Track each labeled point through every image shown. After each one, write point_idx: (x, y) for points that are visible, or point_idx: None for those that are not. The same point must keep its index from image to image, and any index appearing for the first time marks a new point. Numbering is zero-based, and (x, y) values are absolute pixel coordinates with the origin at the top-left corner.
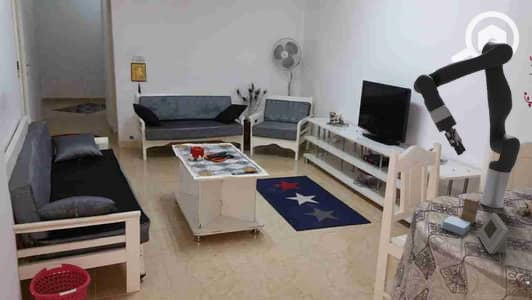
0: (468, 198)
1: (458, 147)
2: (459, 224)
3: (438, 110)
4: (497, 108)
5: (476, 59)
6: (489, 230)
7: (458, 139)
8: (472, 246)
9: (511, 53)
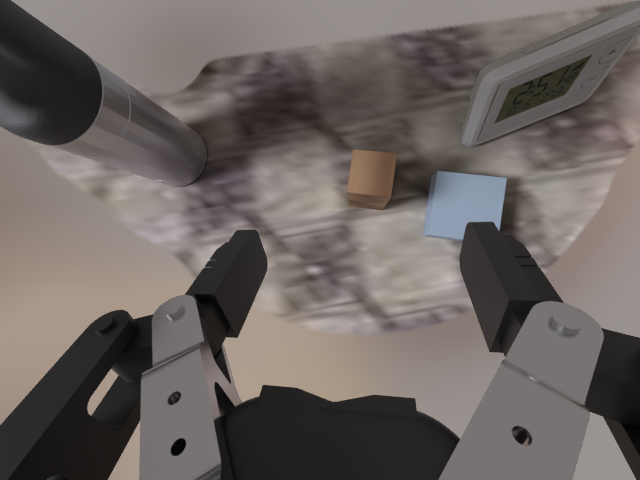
0: (380, 186)
1: (553, 290)
2: (484, 196)
3: None
4: None
5: None
6: (537, 95)
7: (213, 359)
8: (556, 147)
9: None
